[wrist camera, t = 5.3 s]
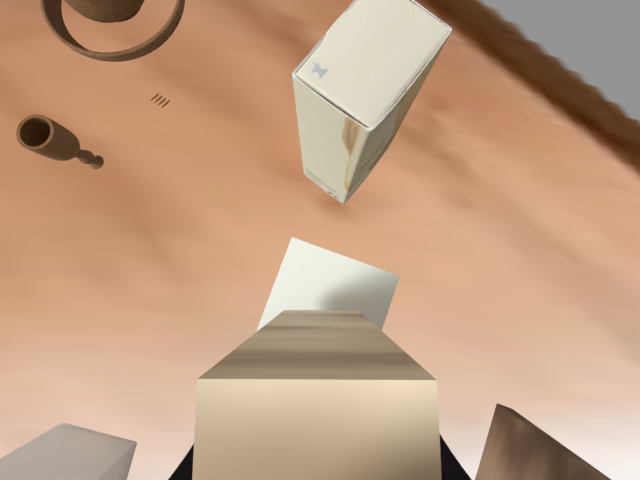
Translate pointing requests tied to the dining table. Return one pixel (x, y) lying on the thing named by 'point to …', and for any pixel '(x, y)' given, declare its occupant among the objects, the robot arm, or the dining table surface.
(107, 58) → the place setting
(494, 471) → the screen
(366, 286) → the mat
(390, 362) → the wooden block
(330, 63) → the skincare box
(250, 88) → the dining table surface
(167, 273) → the dining table surface
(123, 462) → the milk
